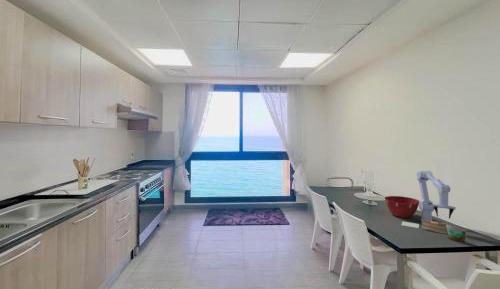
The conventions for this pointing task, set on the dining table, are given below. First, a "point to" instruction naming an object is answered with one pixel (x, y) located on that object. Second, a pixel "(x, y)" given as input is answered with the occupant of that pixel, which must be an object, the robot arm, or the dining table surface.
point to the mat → (410, 225)
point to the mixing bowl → (402, 206)
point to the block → (434, 223)
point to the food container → (456, 233)
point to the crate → (434, 227)
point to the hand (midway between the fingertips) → (443, 217)
